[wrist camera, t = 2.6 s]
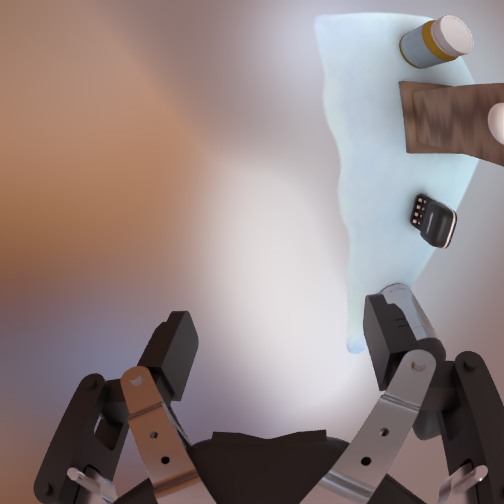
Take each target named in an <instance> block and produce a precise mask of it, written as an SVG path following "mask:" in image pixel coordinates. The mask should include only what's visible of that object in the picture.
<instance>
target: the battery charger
mask: <svg viewBox="0 0 504 504" xmlns="http://www.w3.org/2000/svg"><path fill="white" fill-rule="evenodd" d="M456 222H457V215H456V213H455V211H454V210H452V209H451V208H449V207H448V206H446V205H445V204H443V203H441V202H439V201H437V200H435V199H433V198H432V197H430V196H429V195H424V194H420V195H418V196H417V198H416V201H415V205H414V208H413V212H412V216H411V224H412V225H413V226H414V227H416V228H417V229H419V230H420V231H421V233H420V235H421V237H422V238H423V239H424V240H425V241H427V242H428V243H429V244H430V245H432V246H434V247H439V248H441V249H443V248H447V247H448V246H449V244H450V242H451V239H452V236H453V233H454V230H455V226H456Z"/></svg>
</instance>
